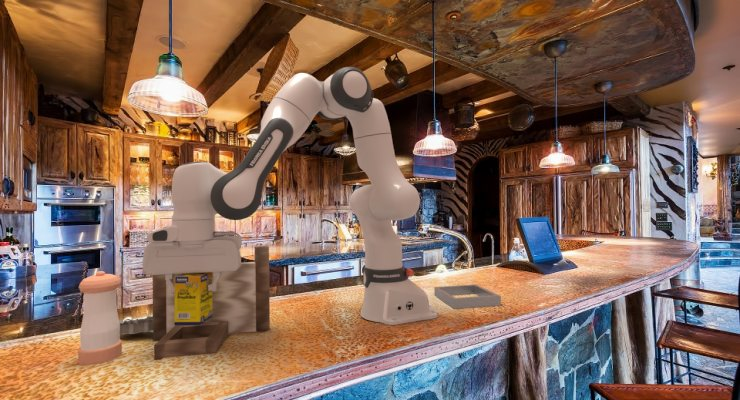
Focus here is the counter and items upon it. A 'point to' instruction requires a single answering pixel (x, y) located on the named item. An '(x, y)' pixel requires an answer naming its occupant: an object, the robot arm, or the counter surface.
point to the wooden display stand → (215, 310)
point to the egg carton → (136, 325)
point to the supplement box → (192, 298)
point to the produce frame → (481, 300)
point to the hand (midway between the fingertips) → (194, 292)
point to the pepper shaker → (99, 320)
